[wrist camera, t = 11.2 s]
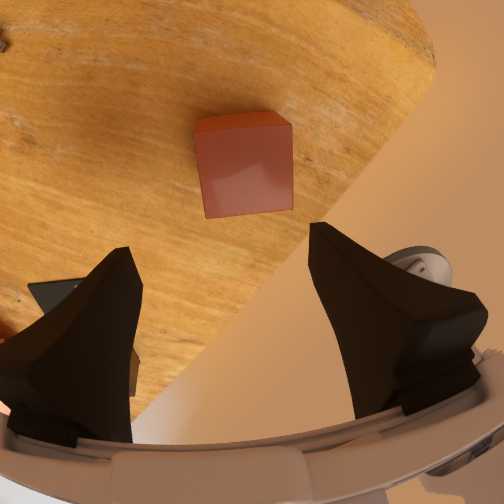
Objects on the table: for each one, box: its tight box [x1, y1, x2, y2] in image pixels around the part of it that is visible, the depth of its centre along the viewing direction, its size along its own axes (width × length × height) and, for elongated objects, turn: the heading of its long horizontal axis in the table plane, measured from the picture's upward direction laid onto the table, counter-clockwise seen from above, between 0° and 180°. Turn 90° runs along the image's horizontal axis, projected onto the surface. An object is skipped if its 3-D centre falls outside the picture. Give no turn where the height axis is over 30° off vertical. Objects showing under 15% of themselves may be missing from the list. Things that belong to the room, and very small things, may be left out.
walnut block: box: [129, 348, 140, 396], centre depth 25 cm, size 4×4×4 cm
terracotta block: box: [193, 111, 293, 219], centre depth 15 cm, size 4×4×4 cm
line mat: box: [27, 278, 140, 363], centre depth 25 cm, size 12×8×1 cm, turn 4°
